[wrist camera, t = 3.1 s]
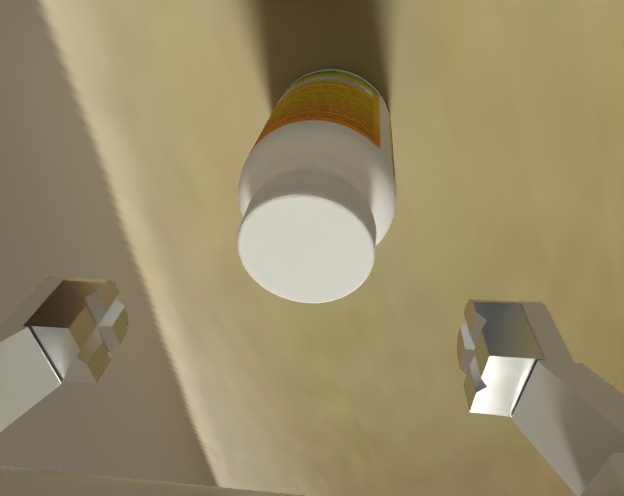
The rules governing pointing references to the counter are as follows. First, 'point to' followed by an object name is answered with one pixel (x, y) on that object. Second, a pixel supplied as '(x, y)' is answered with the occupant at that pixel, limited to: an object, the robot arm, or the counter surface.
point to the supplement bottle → (318, 189)
